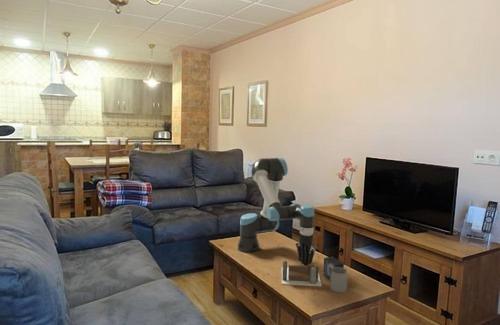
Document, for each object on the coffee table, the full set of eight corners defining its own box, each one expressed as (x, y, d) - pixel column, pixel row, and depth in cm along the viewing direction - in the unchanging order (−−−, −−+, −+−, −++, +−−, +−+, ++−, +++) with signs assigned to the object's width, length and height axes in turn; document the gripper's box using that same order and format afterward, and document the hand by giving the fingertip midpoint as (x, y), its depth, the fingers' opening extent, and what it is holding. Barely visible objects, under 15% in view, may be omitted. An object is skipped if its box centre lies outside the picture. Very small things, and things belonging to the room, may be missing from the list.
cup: (336, 293, 180) (337, 274, 179) (326, 286, 187) (327, 268, 186) (349, 290, 183) (350, 272, 182) (339, 283, 191) (340, 266, 189)
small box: (322, 275, 201) (323, 257, 199) (332, 273, 203) (332, 256, 202) (333, 283, 191) (334, 264, 190) (343, 281, 194) (344, 262, 192)
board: (281, 268, 210) (281, 267, 210) (317, 269, 208) (317, 268, 208) (281, 284, 189) (281, 283, 189) (321, 286, 187) (321, 285, 187)
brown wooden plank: (288, 278, 194) (288, 263, 193) (318, 279, 193) (318, 264, 192) (288, 280, 192) (288, 264, 191) (318, 281, 190) (319, 266, 189)
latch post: (309, 283, 191) (310, 267, 190) (315, 283, 191) (315, 267, 190) (310, 285, 189) (310, 269, 187) (315, 285, 188) (316, 269, 187)
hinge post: (282, 279, 195) (282, 260, 193) (286, 279, 194) (287, 260, 193) (282, 281, 192) (282, 262, 191) (286, 281, 192) (287, 262, 191)
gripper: (292, 232, 195) (291, 272, 198) (310, 238, 185) (308, 280, 188) (302, 229, 200) (300, 268, 203) (319, 235, 190) (317, 276, 193)
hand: (304, 274), depth 196 cm, fingers closed
